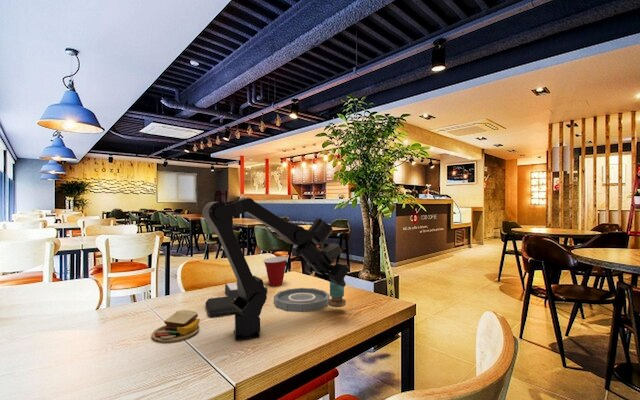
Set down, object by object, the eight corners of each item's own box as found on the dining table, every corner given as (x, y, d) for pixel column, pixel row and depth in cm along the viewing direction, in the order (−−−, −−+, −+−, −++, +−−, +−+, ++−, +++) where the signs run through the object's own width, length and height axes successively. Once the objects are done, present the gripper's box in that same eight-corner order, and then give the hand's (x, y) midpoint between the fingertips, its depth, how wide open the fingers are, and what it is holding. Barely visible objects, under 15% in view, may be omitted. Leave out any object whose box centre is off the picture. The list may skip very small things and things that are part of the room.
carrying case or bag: (242, 314, 108) (234, 302, 122) (242, 305, 108) (234, 294, 122) (208, 319, 104) (204, 306, 117) (208, 310, 104) (204, 297, 117)
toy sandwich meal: (141, 340, 89) (141, 323, 89) (179, 322, 101) (178, 307, 101) (175, 347, 84) (175, 329, 84) (211, 328, 97) (210, 312, 97)
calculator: (267, 286, 130) (229, 288, 124) (267, 297, 130) (229, 300, 124) (260, 280, 140) (225, 282, 134) (260, 290, 140) (224, 292, 134)
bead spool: (331, 307, 105) (331, 268, 105) (325, 302, 111) (325, 264, 111) (348, 306, 107) (348, 266, 107) (341, 300, 113) (341, 263, 113)
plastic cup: (261, 283, 148) (261, 256, 148) (284, 281, 151) (284, 255, 151) (264, 289, 137) (264, 261, 137) (289, 287, 141) (289, 259, 141)
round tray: (281, 314, 107) (280, 306, 107) (270, 297, 126) (270, 290, 126) (336, 307, 114) (336, 300, 114) (318, 292, 132) (318, 286, 132)
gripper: (344, 238, 99) (371, 270, 105) (312, 233, 115) (337, 261, 121) (323, 267, 95) (352, 298, 101) (292, 258, 110) (319, 285, 116)
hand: (340, 284), depth 110 cm, fingers closed on bead spool, 5 cm apart
